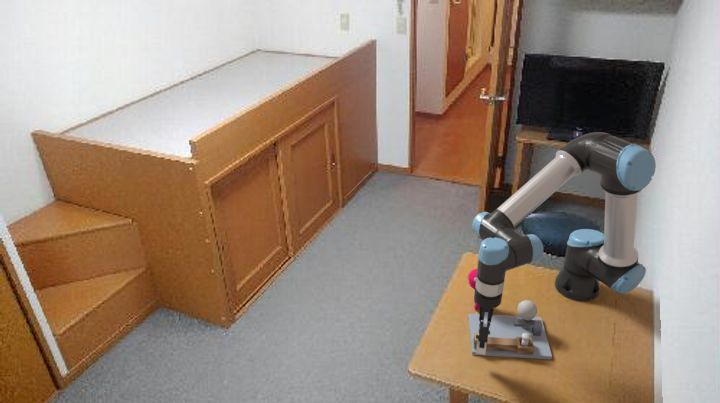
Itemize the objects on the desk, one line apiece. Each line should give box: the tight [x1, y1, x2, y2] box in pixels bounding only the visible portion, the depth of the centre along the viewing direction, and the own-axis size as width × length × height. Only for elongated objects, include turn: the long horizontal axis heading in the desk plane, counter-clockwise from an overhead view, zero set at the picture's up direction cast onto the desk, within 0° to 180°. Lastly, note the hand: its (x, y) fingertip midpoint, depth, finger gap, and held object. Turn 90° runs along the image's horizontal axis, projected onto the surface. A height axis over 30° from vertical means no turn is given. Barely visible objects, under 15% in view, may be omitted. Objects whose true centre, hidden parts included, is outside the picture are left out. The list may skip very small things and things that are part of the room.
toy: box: [467, 268, 479, 312], centre depth 186 cm, size 8×8×15 cm
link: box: [474, 333, 534, 354], centre depth 169 cm, size 18×5×4 cm, turn 84°
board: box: [467, 313, 553, 360], centre depth 175 cm, size 24×18×7 cm
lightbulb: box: [516, 299, 538, 329], centre depth 176 cm, size 6×6×11 cm
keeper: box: [513, 319, 544, 336], centre depth 175 cm, size 9×2×6 cm, turn 84°
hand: (480, 352), depth 163 cm, fingers closed
